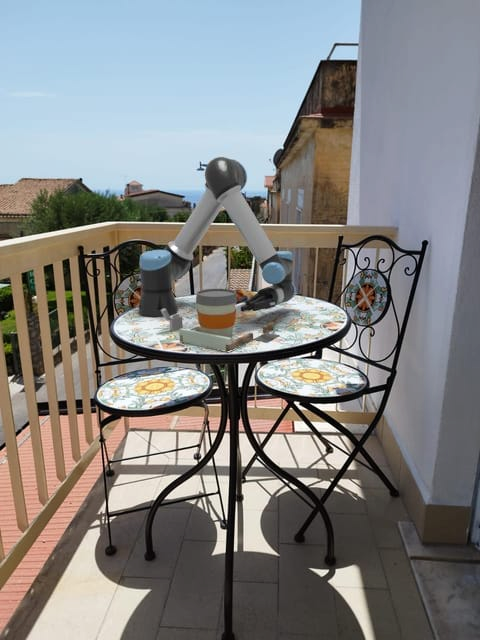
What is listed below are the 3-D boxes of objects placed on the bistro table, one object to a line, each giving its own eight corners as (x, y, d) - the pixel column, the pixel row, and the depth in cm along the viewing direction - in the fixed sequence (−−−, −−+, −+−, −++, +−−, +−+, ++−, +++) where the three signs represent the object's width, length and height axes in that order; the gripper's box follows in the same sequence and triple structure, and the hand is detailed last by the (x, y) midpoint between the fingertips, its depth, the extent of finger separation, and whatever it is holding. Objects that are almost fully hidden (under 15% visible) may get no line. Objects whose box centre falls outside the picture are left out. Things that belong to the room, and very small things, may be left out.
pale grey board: (182, 340, 132) (181, 328, 131) (231, 351, 122) (231, 338, 121) (180, 341, 131) (179, 329, 130) (229, 352, 121) (229, 339, 120)
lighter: (180, 327, 145) (179, 305, 143) (183, 329, 144) (182, 306, 142) (161, 331, 141) (160, 308, 139) (163, 333, 140) (162, 309, 138)
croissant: (259, 307, 187) (255, 290, 188) (271, 301, 178) (267, 283, 180) (217, 313, 176) (212, 295, 177) (227, 306, 168) (223, 287, 169)
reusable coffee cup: (201, 347, 125) (200, 298, 121) (193, 335, 137) (192, 289, 133) (242, 343, 129) (242, 295, 125) (231, 331, 140) (230, 287, 136)
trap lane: (217, 319, 155) (217, 313, 155) (287, 331, 140) (287, 325, 140) (167, 338, 134) (167, 332, 133) (244, 355, 119) (244, 348, 118)
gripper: (285, 309, 153) (250, 325, 134) (254, 305, 160) (217, 319, 141) (285, 289, 151) (250, 301, 132) (254, 285, 158) (216, 297, 139)
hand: (233, 310), depth 137 cm, fingers closed
